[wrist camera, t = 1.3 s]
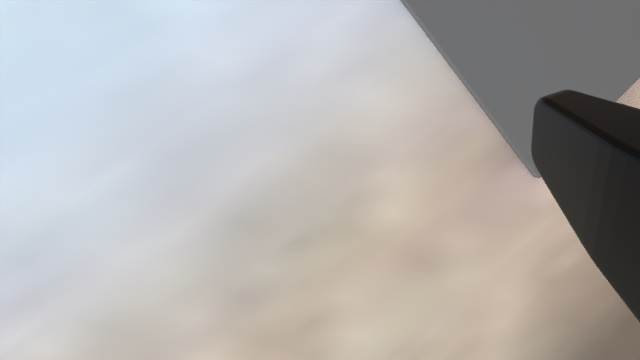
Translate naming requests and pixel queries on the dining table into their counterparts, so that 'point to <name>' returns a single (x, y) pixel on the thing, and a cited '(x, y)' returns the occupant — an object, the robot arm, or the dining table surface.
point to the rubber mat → (533, 53)
